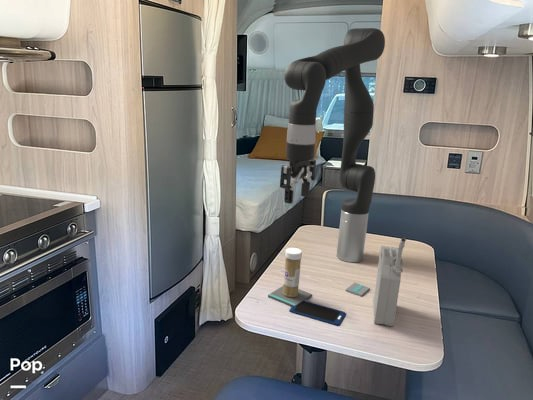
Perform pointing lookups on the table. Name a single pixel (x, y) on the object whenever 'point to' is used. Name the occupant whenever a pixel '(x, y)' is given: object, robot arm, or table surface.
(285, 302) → the mat
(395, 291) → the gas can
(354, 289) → the label tag
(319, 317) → the cell phone
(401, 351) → the table surface
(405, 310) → the table surface
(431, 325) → the table surface
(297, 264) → the sprinkles bottle
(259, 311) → the table surface
